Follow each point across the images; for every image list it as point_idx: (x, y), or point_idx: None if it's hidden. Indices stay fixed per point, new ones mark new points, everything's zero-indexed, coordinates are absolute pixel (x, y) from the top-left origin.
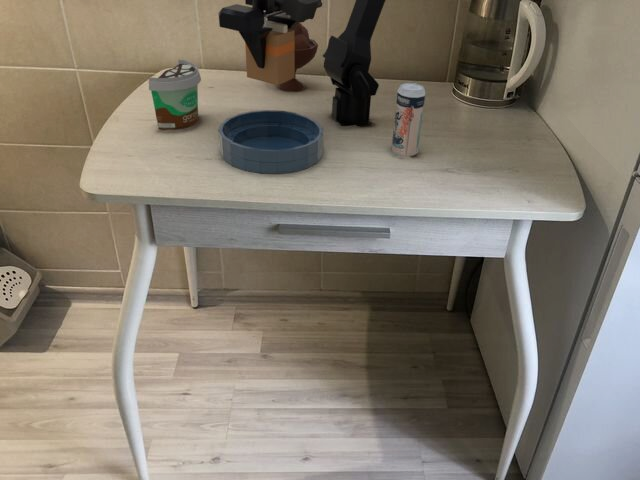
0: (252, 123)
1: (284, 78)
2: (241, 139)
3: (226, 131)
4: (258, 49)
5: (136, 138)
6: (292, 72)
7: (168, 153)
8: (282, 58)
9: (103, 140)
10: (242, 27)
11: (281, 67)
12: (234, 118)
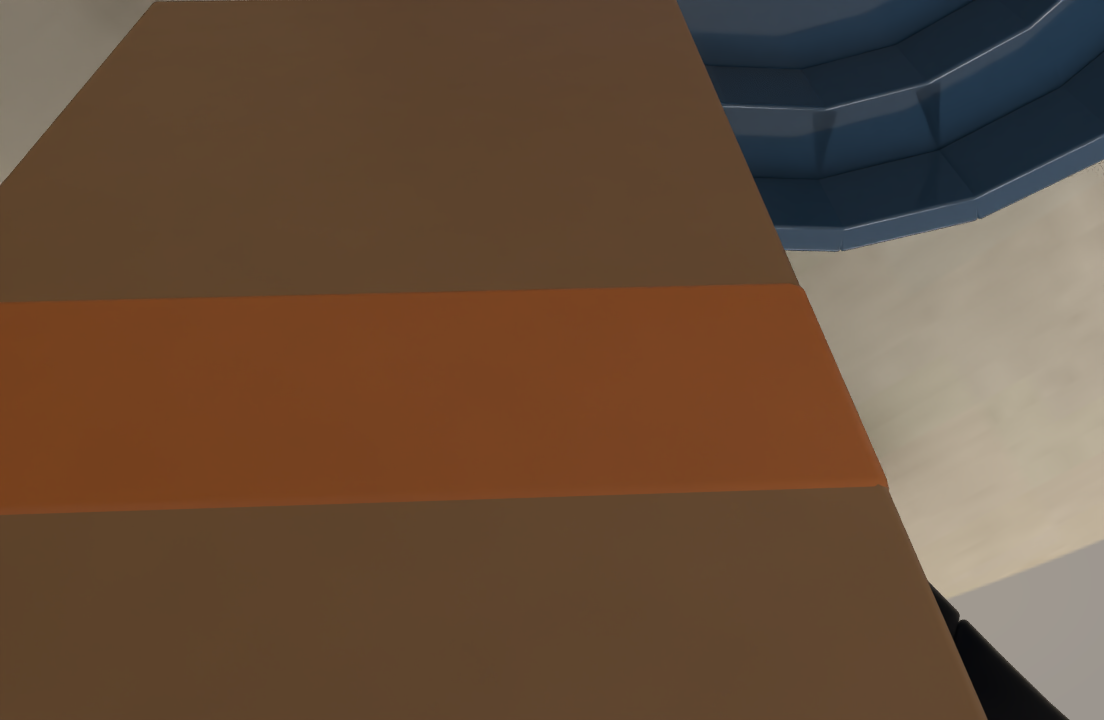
0: None
1: (472, 23)
2: (780, 76)
3: (908, 167)
4: None
5: (953, 504)
6: (190, 45)
7: (1084, 308)
8: (544, 229)
9: (1027, 565)
10: None
11: (579, 124)
12: (793, 220)
